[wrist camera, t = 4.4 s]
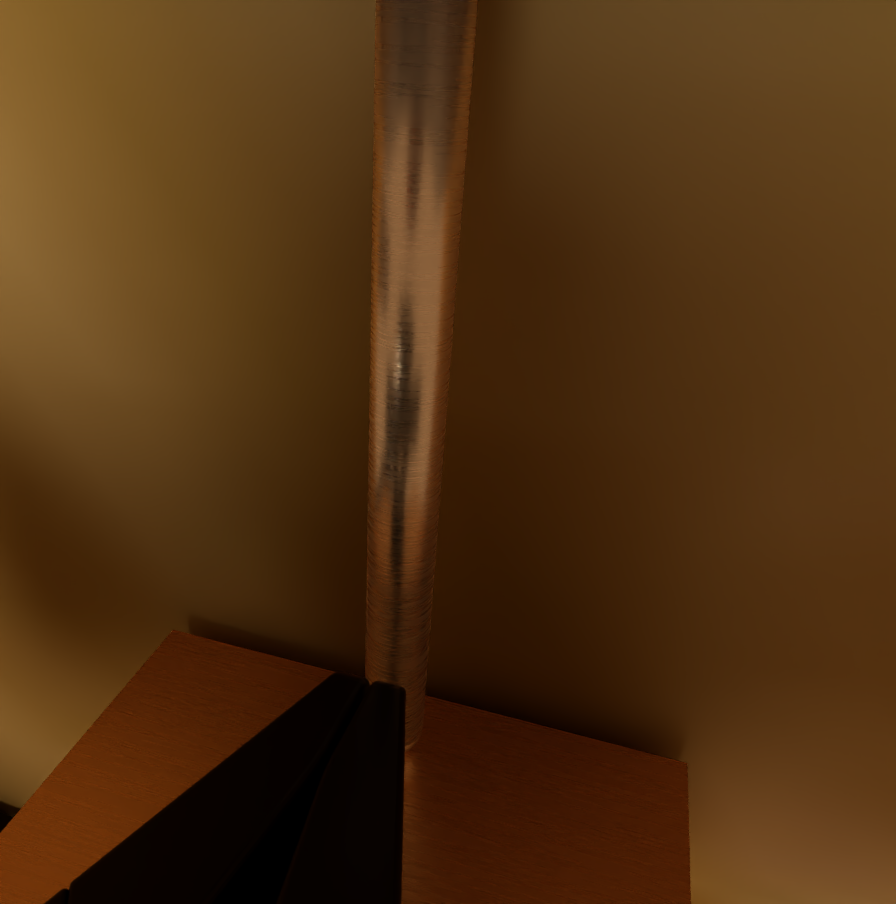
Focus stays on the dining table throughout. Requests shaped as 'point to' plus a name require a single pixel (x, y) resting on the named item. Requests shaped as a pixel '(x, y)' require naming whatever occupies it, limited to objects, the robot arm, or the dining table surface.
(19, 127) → the dining table surface
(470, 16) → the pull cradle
